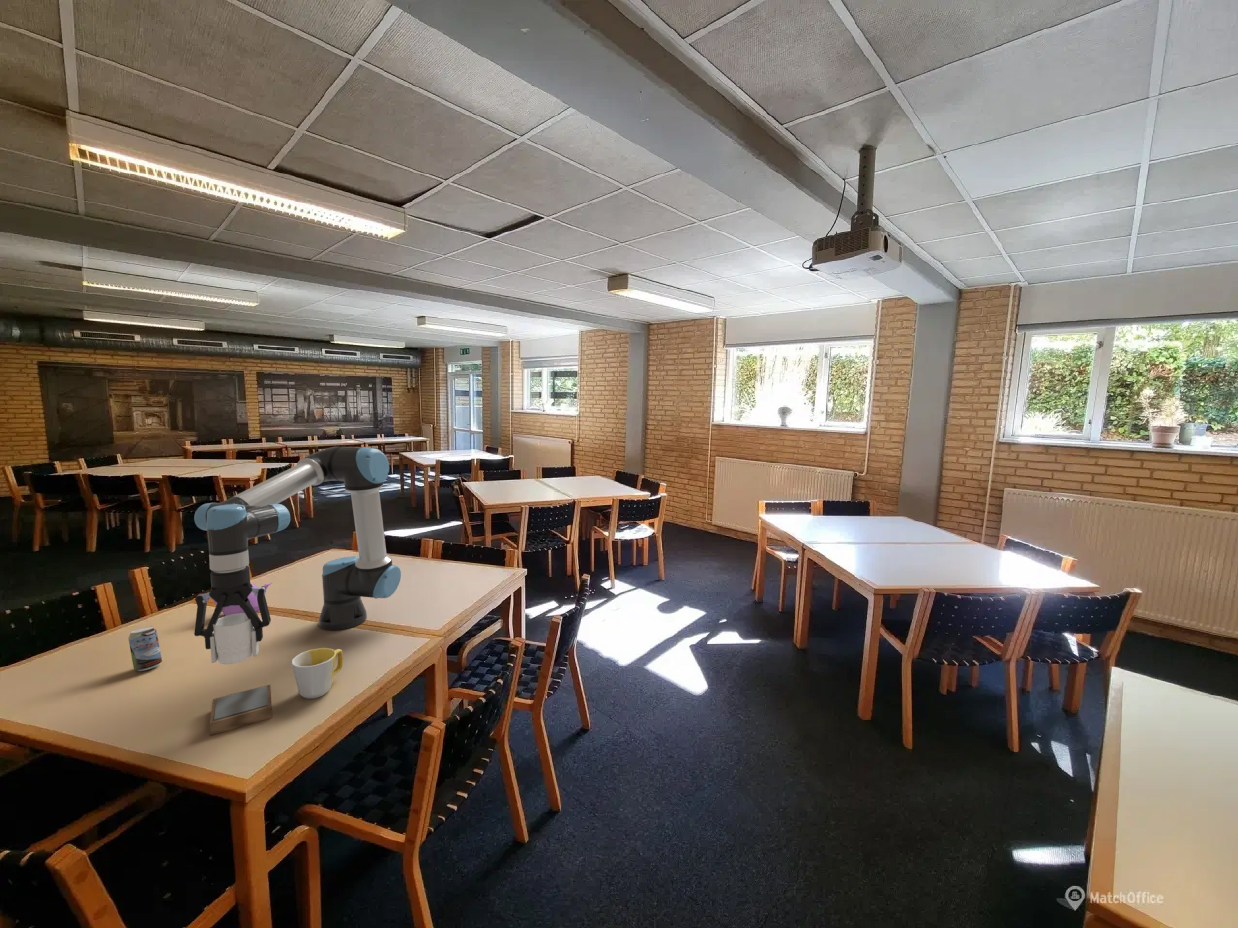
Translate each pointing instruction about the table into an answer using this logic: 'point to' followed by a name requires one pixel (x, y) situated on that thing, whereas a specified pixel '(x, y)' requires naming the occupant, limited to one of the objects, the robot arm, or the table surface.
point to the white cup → (233, 638)
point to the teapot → (237, 609)
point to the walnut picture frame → (240, 709)
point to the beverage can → (145, 648)
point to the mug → (316, 671)
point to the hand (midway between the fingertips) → (235, 656)
